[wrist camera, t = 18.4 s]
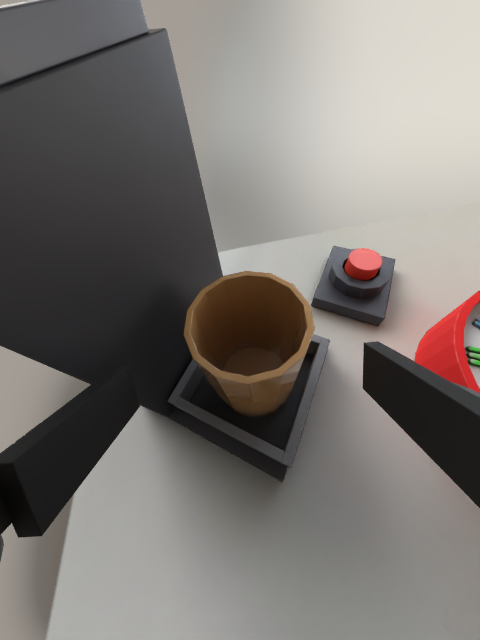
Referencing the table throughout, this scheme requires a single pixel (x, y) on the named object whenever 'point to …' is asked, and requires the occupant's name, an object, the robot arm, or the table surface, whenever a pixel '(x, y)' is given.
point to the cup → (250, 339)
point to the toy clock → (455, 345)
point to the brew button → (363, 264)
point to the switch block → (354, 289)
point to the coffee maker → (114, 219)
